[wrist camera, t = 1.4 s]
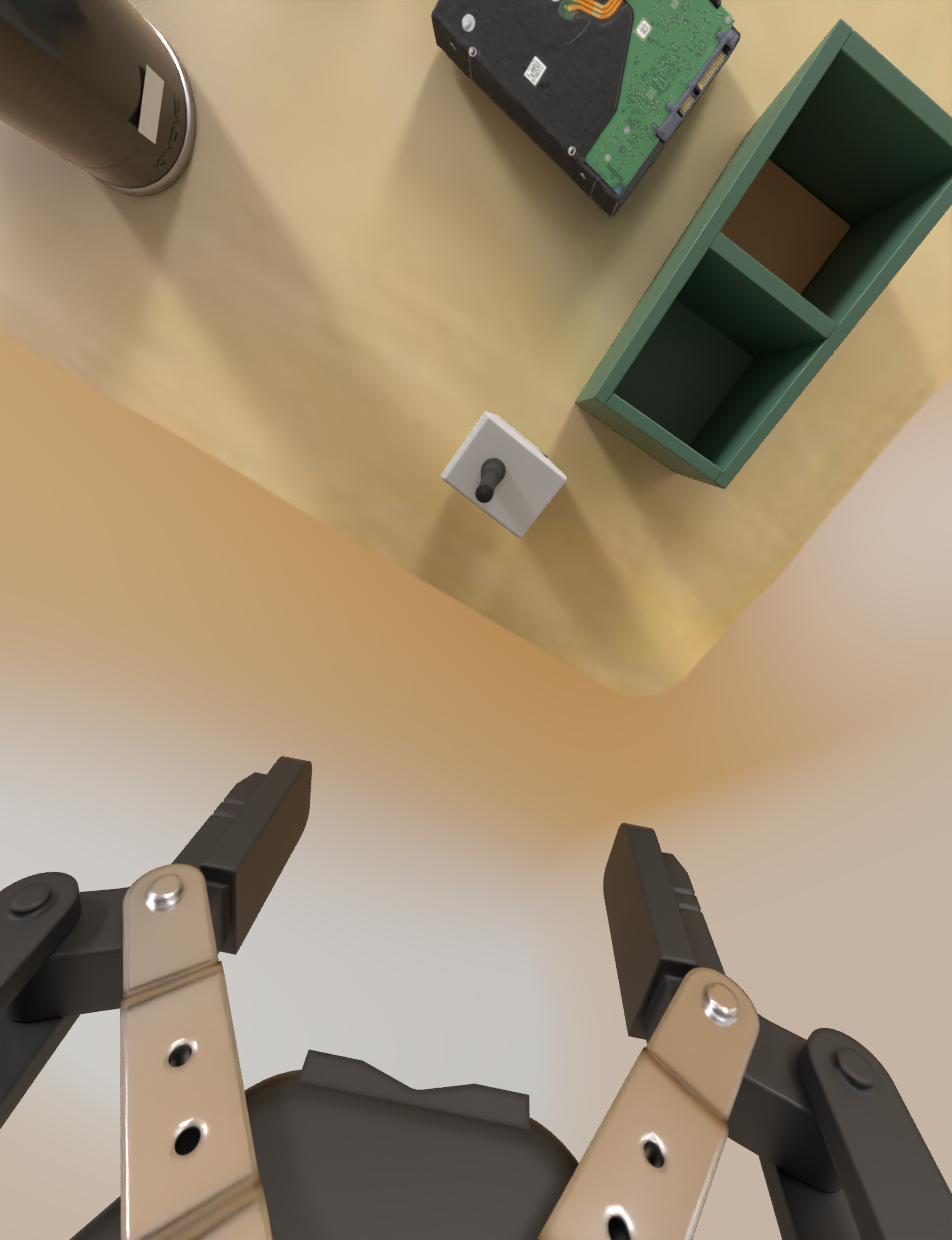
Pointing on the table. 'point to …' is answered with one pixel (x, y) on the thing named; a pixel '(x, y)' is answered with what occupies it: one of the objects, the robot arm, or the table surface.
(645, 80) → the disk drive
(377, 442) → the table surface
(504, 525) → the vintage mobile phone
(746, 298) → the caddy
